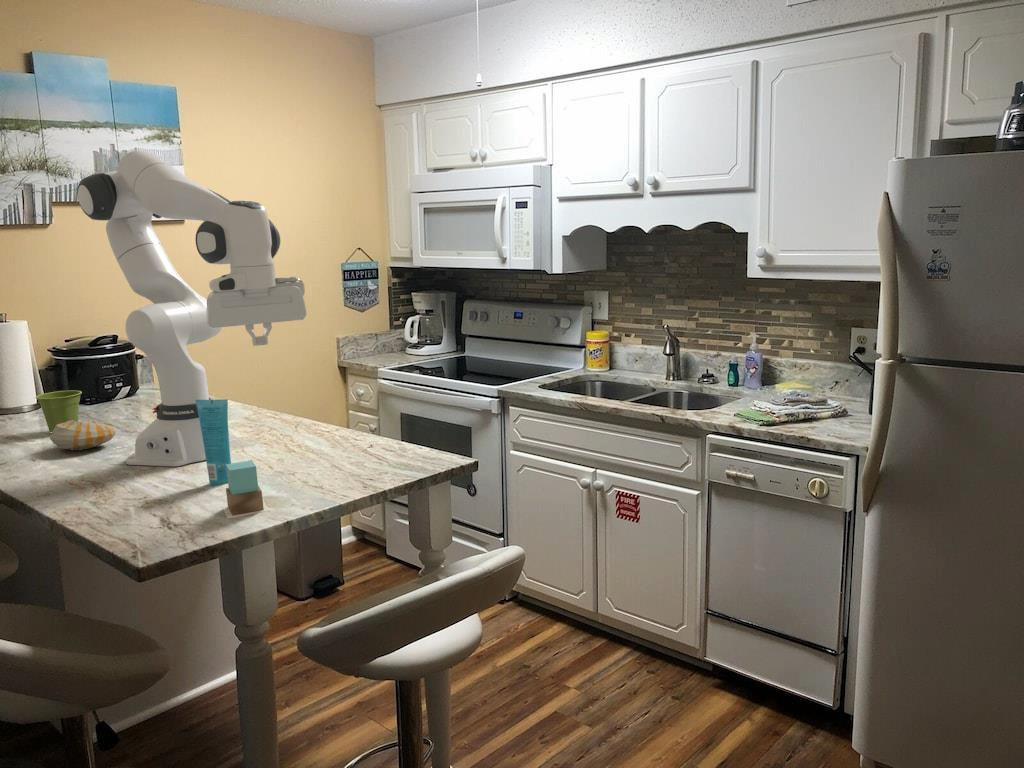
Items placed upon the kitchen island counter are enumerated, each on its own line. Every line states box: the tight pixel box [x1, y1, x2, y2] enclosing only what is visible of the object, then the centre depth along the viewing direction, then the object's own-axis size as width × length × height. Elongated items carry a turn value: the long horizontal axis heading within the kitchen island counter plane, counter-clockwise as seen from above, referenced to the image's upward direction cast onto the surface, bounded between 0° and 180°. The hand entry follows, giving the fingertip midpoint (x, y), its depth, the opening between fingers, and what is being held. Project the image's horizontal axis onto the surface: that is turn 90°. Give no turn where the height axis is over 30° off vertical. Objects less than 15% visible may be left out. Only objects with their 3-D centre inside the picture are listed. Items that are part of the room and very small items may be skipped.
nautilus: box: [49, 420, 116, 451], centre depth 224 cm, size 8×22×15 cm
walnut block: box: [225, 485, 264, 516], centre depth 167 cm, size 6×6×4 cm
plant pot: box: [35, 389, 83, 433], centre depth 242 cm, size 12×12×11 cm
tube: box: [196, 398, 232, 487], centre depth 185 cm, size 7×5×19 cm, turn 88°
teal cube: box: [226, 460, 259, 495], centre depth 166 cm, size 5×5×5 cm
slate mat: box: [221, 500, 271, 519], centre depth 167 cm, size 14×12×1 cm
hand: (260, 344), depth 178 cm, fingers closed
